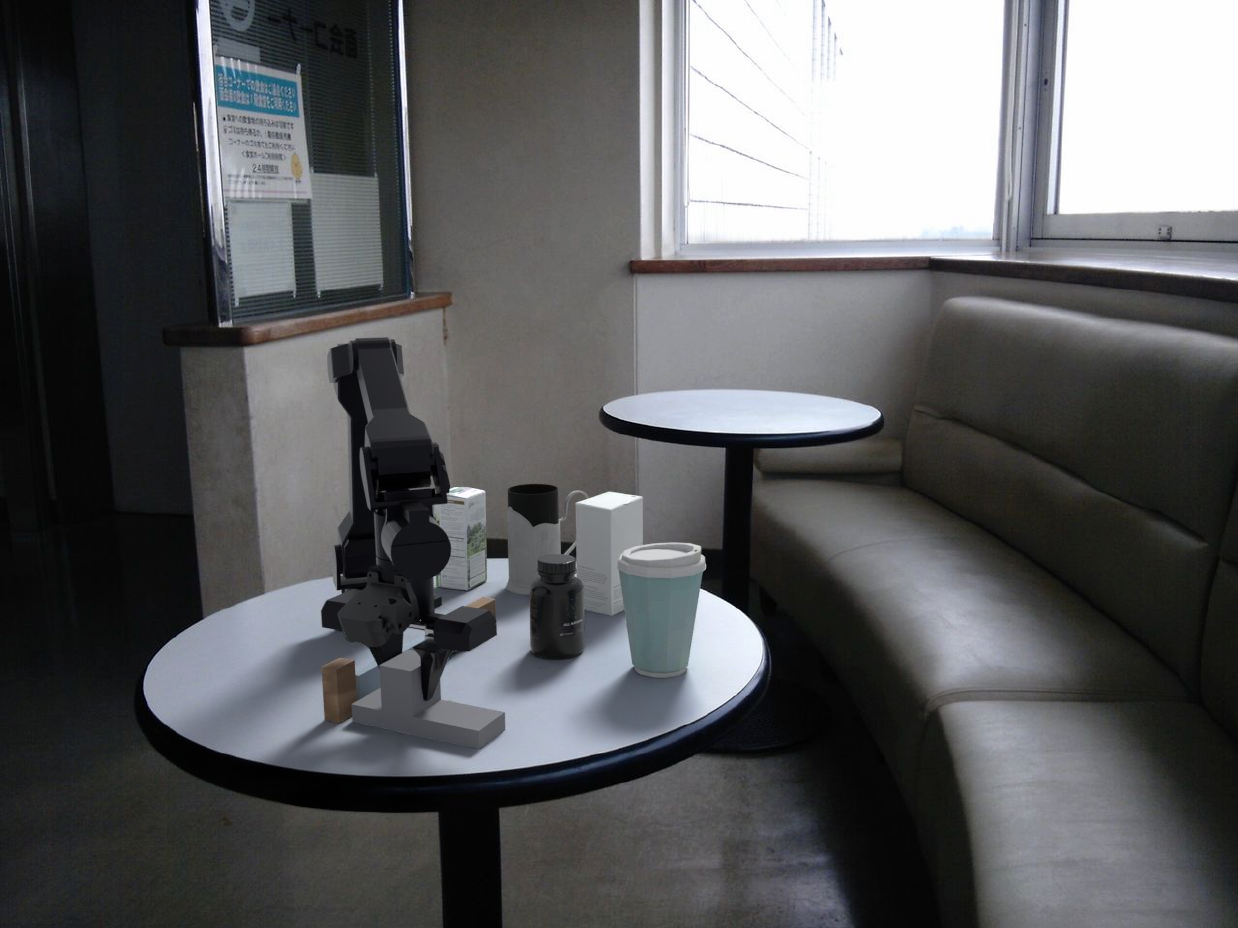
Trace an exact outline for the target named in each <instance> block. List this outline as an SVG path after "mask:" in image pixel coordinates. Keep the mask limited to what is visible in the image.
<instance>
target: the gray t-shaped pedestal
mask: <svg viewBox="0 0 1238 928" xmlns="http://www.w3.org/2000/svg"><path fill="white" fill-rule="evenodd" d="M379 668H380V686H381V688H379V689H377V690H376V691H374V692H372V693H370V694H369V695H367V696H365V697H363V698H361V699H360V700H358V701H356V702H354V703H353V704H351V705H352V716H351V717H352V718H351V719H352V722H353V723H358V724H362V725H367V726H370V727H371V726H372V727H374V728H378V729H379V728H380V729H384V730H388V731H389V730H390V731H394V732H398V733H401V734H402V733H403V734H408V735H412V736H417V737H420V738H426V739H430V740H435V741H440V742H444V743H449V744H454V745H457V746H462V747H466V748H472V749H477V750H480V749H482V748H483V747H484V746H485V745H487V744H488V743H490V742H491V741H492V740H494V739H495V738H497V736H499V735H500V734H502V733H503V732H504V731H506V712H505V711H501V710H496V709H492V708H486V707H481V706H478V705H477V706H476V705H471V704H466V703H461V702H456V701H451V700H446V699H442V690H441V689H442V688H441V679H440V680H439V683H438V685H437V688H436V690H435V693H434V695H433V697H432V698H431V699H430V700H428V701H425V700H424V699H423V693H422V683H421V661H420V656H419V655H418V654H417V652H416V651H412V650H407V651H405V652H403V653H402V654H400V655H398V656H396V657H394V658H392V659H390V660H389V661H387V662H385V663H383V664H381V665H379Z"/></svg>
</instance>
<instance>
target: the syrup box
mask: <svg viewBox="0 0 1238 928" xmlns="http://www.w3.org/2000/svg"><path fill="white" fill-rule="evenodd" d="M486 499H487V498H486V491H485V490H484V489H479V488H473V487H466V486H461V487H460V486H458V487H455V486H454V487H452V488H451V487H450V491H449V493H447V500H448V503H447V504H438V505H433V511H434V512H433V517H434V519H435V521H436V522H437V523H438V524H439V525H440V527H441V528H442V529H443V530H444V531H445V533H446V534H447V536H448V538H449V540H450V543H451V556H450V559H449V561H448V563H447V565H446V567H445V568H444V569H443V570H442V571H441V572H440V573H439V574H438V575H436V576H435V586H436V587H437V588H444V589H449V590H450V589H451V590H461V591H470V590H471V589H474V588H475V587H477V586H479V585H481V584H483V583H484V582H486V581H487V580H488V569H487V568H488V567H487V566H488V565H487V564H488V562H487V559H488V558H487V555H488V554H487V514H486V513H487V511H486V509H487V507H486V505H487V503H486V501H487V500H486Z"/></svg>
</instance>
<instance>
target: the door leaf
mask: <svg viewBox="0 0 1238 928" xmlns="http://www.w3.org/2000/svg"><path fill="white" fill-rule="evenodd" d="M424 640H425V634H423V635H421V636H420V637H418V638H416V639H413V640H411V641H409V642H407V643H406V644H403V648H402V653H403V652H405V651H407V650H412V651H415V650H414V649H413V646H415V645H417V644H419V643H420V642H422V641H424ZM455 652H456V651H452V653H451V654H453V653H455ZM355 675H356V692H357V701H358V700H360V699H361V698H363V697H365V696H367V695H369V694H370V693H372V692H374V691H376V690H377V689H379V688H381V686H380V670H379V668H378V665H377V663H376V661H375V660H374V661H372V662H370V663H369V664H367V665H364V666H363V667H361V668H359V669H356V670H355Z"/></svg>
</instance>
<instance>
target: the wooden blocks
mask: <svg viewBox="0 0 1238 928" xmlns="http://www.w3.org/2000/svg"><path fill="white" fill-rule="evenodd" d="M496 602H497V601H496V598H492V597H491V598H490V597H484V596H482V597H480V598H478V599H475V600H474V601H472V602H471V603H468V604H466V605H465V606H467V607H473V608H480V609H486V610H490V611H491V612H492V613H493V614H494V616H495V618H496V619H497V607H496ZM320 669H321V670H320V671H321V683H322V698H323V701H322V702H323V709H324V710H323V713H324V714H323V715H324V720H325V721H327V722H328V721H329V722H332V723H338V724H341V723H342V722H345V720H347V719H349V718H351V717H352V705H351V704H353V703H354V702H356V701H357V692H356V675H355V671H356V660H355V659H350V658H343V657H338V658H336V659H334V660H332V661H330V662H328V663H325V664H324V665H322V666H321V668H320Z"/></svg>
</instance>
